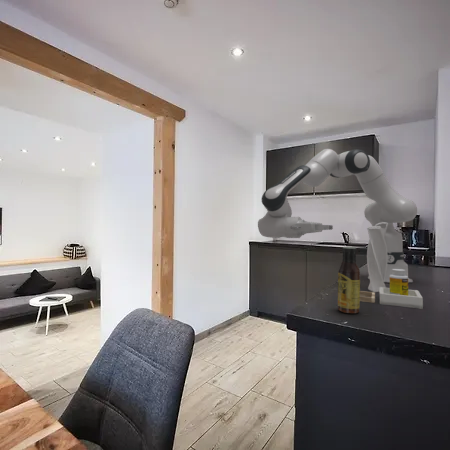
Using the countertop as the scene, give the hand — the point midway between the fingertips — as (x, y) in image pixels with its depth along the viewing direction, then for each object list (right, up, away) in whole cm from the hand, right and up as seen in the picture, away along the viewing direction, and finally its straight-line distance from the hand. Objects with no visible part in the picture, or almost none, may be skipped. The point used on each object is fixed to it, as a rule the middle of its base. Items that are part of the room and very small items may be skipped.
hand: (330, 227), depth 111 cm
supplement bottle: (+19, -25, -13) cm, 34 cm away
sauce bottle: (-3, -26, -23) cm, 35 cm away
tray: (+19, -26, -13) cm, 35 cm away
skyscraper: (+21, -26, +5) cm, 34 cm away
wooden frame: (+8, -26, -7) cm, 28 cm away
